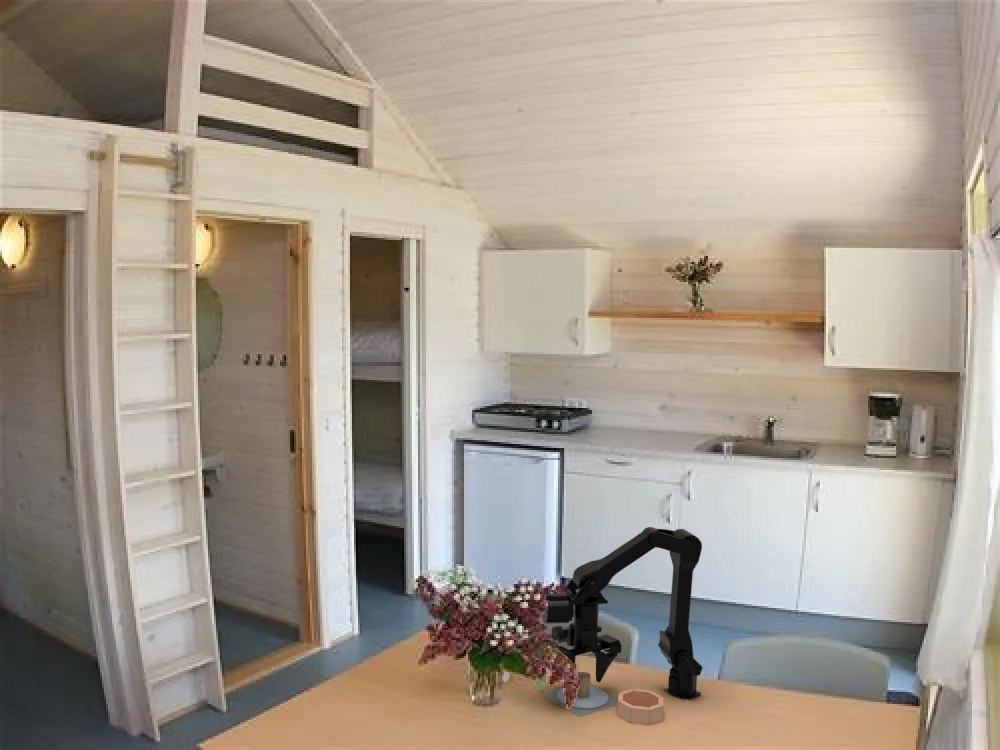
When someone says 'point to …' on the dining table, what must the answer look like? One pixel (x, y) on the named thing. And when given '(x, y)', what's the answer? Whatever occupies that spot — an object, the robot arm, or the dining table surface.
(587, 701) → the lid
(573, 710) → the mat
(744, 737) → the dining table surface
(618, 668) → the dining table surface
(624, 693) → the bowl
